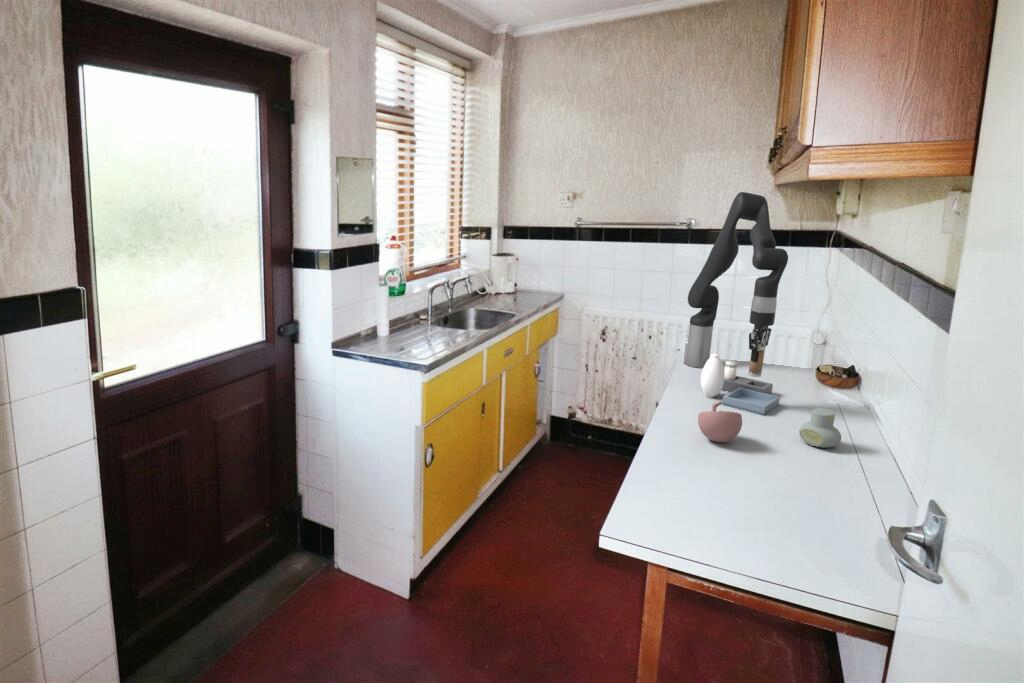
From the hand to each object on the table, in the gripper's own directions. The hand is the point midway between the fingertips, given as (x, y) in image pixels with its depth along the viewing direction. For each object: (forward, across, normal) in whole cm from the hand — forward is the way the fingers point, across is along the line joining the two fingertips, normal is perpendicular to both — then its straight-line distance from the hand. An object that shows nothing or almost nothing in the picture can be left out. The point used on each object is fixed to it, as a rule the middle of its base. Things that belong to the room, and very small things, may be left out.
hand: (756, 360), depth 206 cm
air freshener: (+16, +19, +27) cm, 37 cm away
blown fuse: (+5, 0, 0) cm, 5 cm away
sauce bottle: (+16, +2, -14) cm, 21 cm away
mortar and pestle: (+16, +38, +5) cm, 42 cm away
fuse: (+16, -12, -13) cm, 24 cm away
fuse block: (+16, -12, -8) cm, 22 cm away
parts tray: (+16, 0, 0) cm, 16 cm away
